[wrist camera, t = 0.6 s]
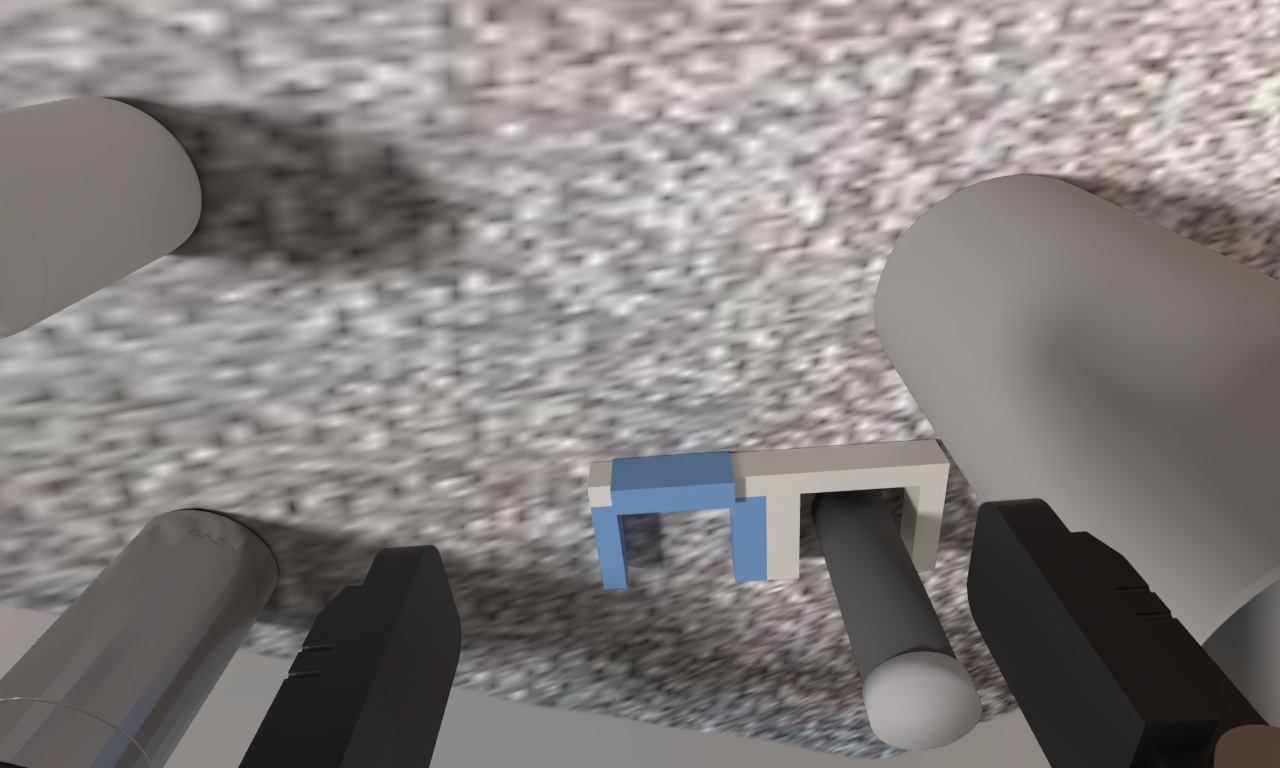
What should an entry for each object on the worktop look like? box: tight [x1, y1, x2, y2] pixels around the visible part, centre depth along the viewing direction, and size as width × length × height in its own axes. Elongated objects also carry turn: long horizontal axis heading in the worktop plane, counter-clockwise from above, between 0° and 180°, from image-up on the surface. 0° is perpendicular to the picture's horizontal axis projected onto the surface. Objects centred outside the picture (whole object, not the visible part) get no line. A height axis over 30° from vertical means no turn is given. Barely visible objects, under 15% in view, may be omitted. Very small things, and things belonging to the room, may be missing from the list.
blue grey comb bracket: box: [588, 439, 950, 589], centre depth 44 cm, size 8×21×3 cm, turn 95°
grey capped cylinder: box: [811, 489, 982, 750], centre depth 39 cm, size 5×5×15 cm
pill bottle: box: [0, 97, 202, 338], centre depth 30 cm, size 8×8×15 cm
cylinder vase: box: [875, 175, 1280, 728], centre depth 27 cm, size 12×12×25 cm
